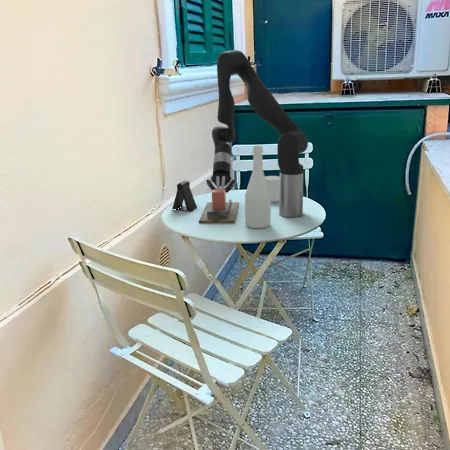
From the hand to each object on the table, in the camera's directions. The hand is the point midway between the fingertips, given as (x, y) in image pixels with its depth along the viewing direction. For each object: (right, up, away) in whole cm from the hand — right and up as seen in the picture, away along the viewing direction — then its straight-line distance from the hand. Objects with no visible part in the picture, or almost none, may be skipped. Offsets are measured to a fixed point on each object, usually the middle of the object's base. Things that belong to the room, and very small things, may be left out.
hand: (220, 200), depth 183 cm
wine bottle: (+15, -10, -14) cm, 23 cm away
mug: (+22, +1, +19) cm, 29 cm away
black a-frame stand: (-15, -3, +8) cm, 18 cm away
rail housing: (0, -5, +1) cm, 5 cm away
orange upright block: (0, -5, -2) cm, 5 cm away
